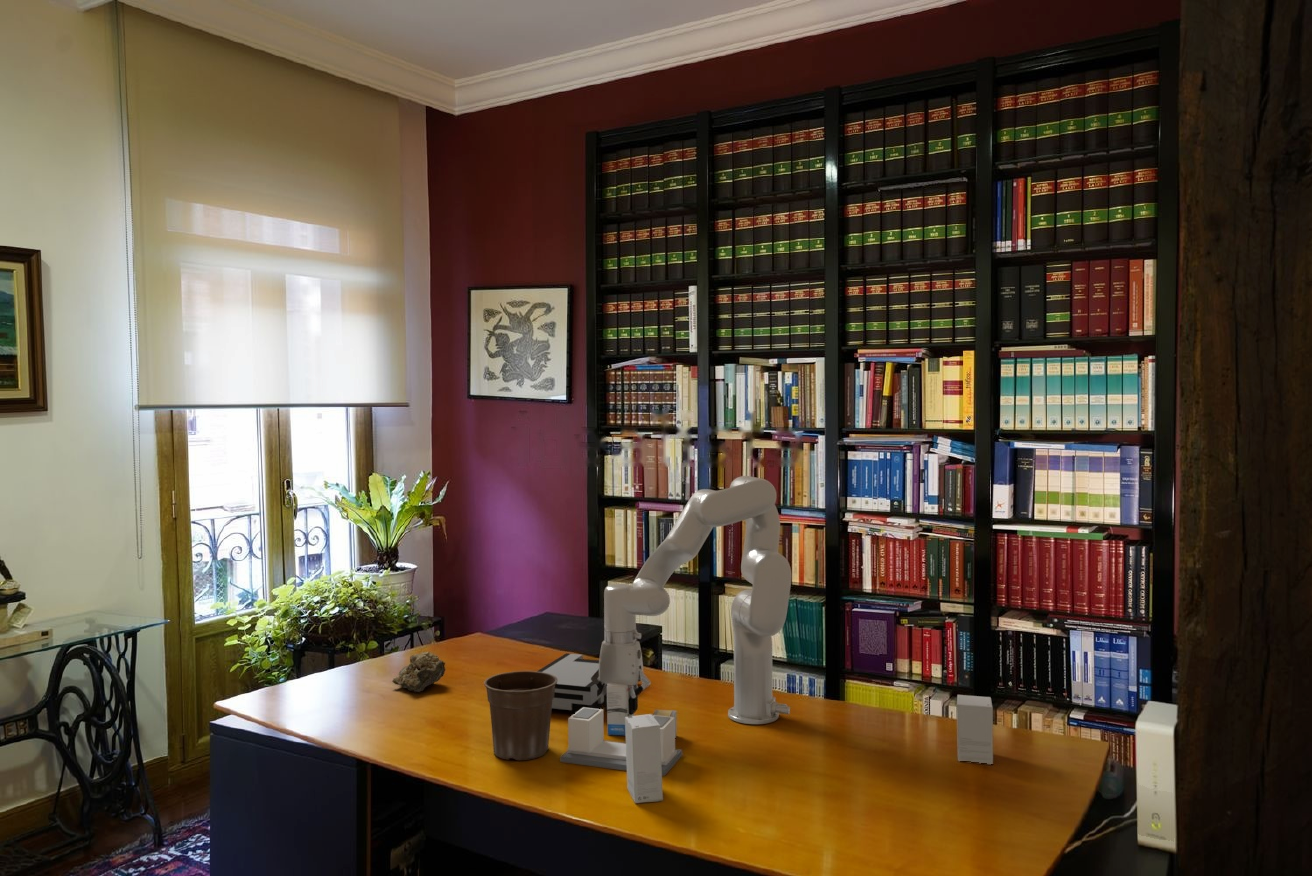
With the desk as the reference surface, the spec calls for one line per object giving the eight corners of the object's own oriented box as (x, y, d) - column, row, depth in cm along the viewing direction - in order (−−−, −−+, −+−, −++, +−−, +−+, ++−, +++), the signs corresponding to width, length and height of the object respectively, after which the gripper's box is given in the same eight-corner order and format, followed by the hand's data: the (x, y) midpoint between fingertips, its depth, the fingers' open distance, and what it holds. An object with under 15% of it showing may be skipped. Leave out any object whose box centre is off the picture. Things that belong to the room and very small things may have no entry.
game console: (633, 683, 253) (633, 654, 253) (590, 719, 223) (590, 687, 223) (566, 677, 260) (566, 649, 259) (515, 711, 229) (515, 680, 229)
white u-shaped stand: (682, 755, 198) (682, 714, 198) (664, 775, 187) (664, 732, 186) (583, 743, 206) (582, 703, 206) (560, 762, 195) (560, 720, 194)
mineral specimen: (380, 689, 249) (380, 653, 249) (417, 677, 259) (417, 643, 259) (415, 697, 241) (415, 661, 240) (452, 686, 251) (451, 650, 251)
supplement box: (992, 753, 198) (992, 696, 197) (993, 766, 191) (993, 707, 190) (957, 749, 200) (956, 693, 200) (956, 761, 193) (956, 703, 193)
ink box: (626, 736, 210) (626, 686, 210) (606, 735, 211) (605, 685, 211) (635, 724, 218) (634, 676, 218) (615, 723, 219) (614, 675, 219)
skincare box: (663, 801, 174) (662, 725, 174) (632, 805, 173) (632, 728, 172) (653, 784, 182) (653, 712, 182) (624, 787, 181) (624, 714, 181)
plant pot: (529, 733, 212) (528, 666, 212) (572, 751, 201) (572, 679, 201) (470, 751, 201) (470, 680, 201) (513, 771, 190) (512, 696, 189)
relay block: (676, 736, 210) (676, 709, 210) (672, 745, 204) (672, 718, 204) (655, 735, 211) (655, 708, 211) (651, 744, 205) (651, 717, 205)
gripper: (659, 635, 215) (659, 710, 215) (593, 630, 220) (594, 703, 221) (648, 643, 208) (649, 720, 208) (580, 637, 213) (581, 713, 214)
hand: (620, 711), depth 214 cm, fingers closed on ink box, 5 cm apart
